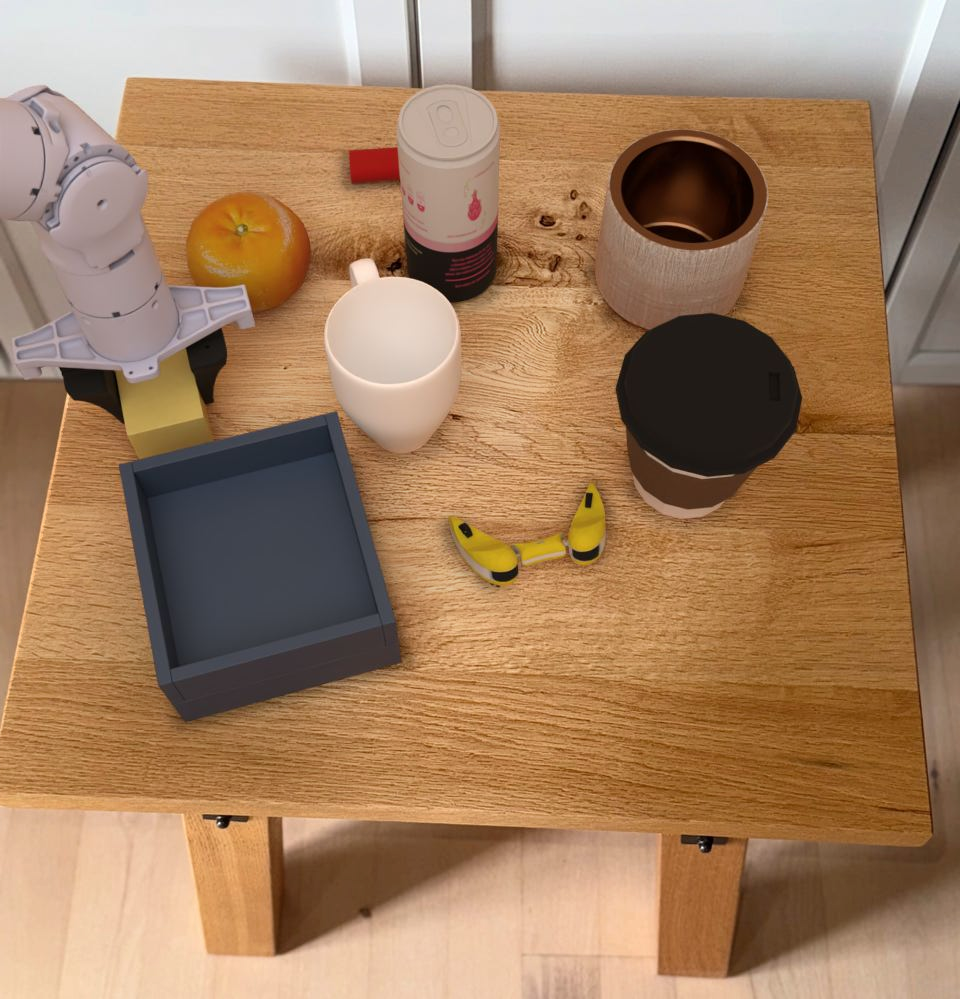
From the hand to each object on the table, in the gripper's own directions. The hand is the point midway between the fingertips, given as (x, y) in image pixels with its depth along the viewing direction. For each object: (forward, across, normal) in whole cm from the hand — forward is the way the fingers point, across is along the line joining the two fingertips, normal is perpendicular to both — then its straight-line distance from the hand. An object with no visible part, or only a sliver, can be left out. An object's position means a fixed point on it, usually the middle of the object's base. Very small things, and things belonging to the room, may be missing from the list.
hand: (165, 401), depth 82 cm
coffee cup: (+1, +32, -15) cm, 35 cm away
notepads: (0, 0, 0) cm, 0 cm away
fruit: (+1, +8, +9) cm, 12 cm away
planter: (+1, +37, +1) cm, 37 cm away
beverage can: (+1, +22, +6) cm, 23 cm away
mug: (+1, +15, -4) cm, 16 cm away
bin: (+1, +4, -15) cm, 16 cm away
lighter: (+1, +21, +16) cm, 27 cm away
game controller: (+1, +21, -17) cm, 27 cm away
